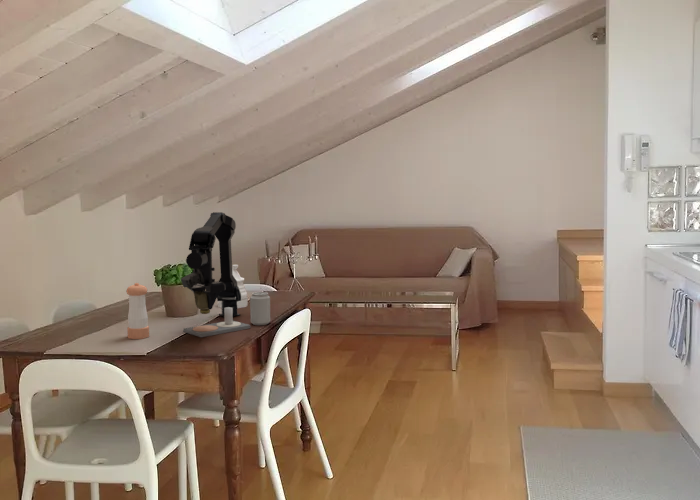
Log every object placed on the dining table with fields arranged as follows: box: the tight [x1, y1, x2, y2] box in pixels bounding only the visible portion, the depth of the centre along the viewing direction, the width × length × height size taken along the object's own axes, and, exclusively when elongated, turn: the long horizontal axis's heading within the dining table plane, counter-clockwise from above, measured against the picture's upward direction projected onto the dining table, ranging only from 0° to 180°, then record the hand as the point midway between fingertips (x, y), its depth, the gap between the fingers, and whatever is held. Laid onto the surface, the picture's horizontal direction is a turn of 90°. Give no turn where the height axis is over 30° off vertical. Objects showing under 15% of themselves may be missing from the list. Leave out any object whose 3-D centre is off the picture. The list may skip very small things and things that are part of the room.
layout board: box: [183, 307, 251, 338], centre depth 258 cm, size 12×21×8 cm, turn 133°
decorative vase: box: [193, 290, 211, 315], centre depth 253 cm, size 7×7×8 cm
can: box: [249, 291, 271, 326], centre depth 268 cm, size 8×8×12 cm
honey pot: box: [217, 264, 249, 309], centre depth 304 cm, size 13×13×18 cm
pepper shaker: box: [126, 282, 150, 340], centre depth 246 cm, size 7×7×19 cm
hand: (205, 307), depth 254 cm, fingers closed on decorative vase, 6 cm apart
